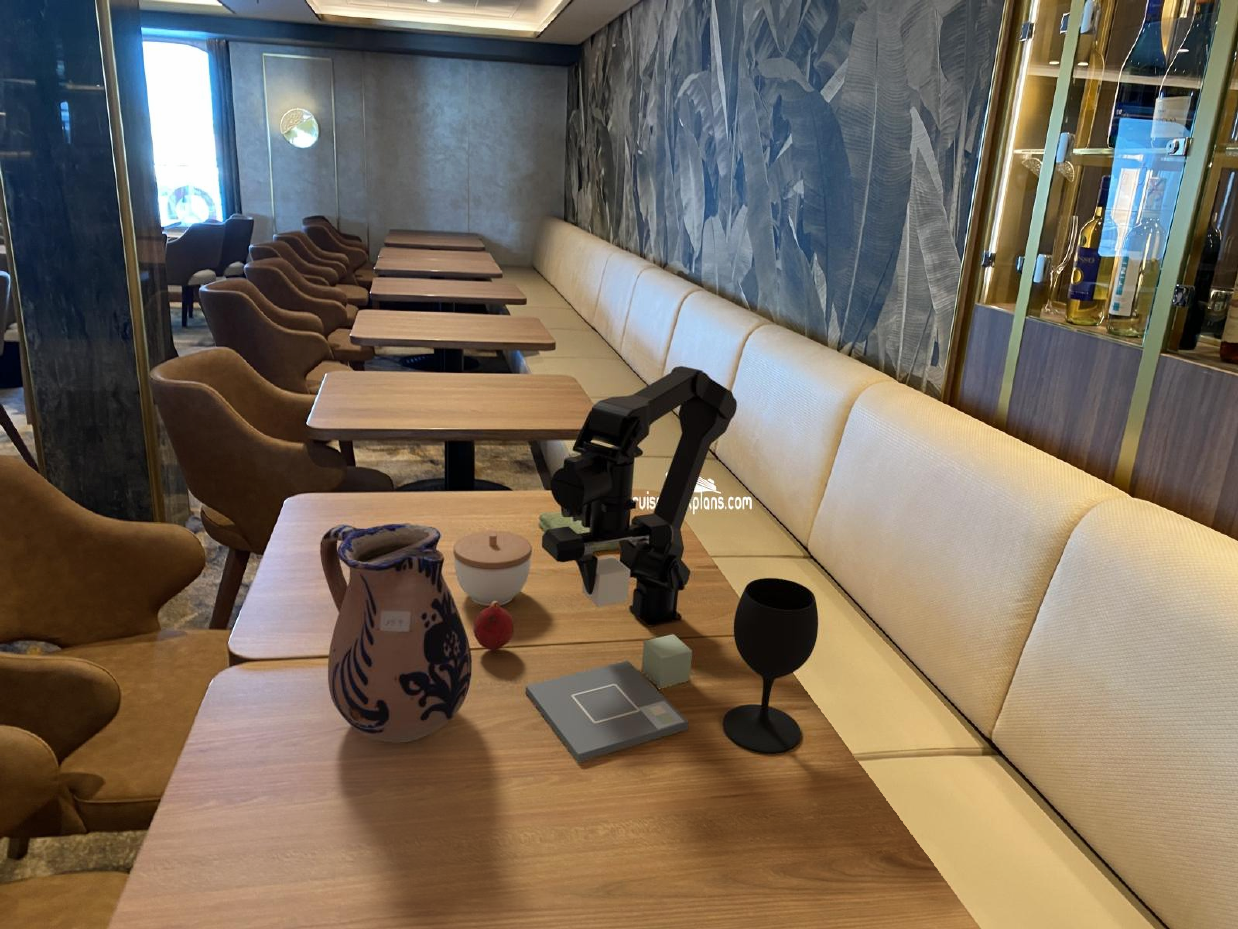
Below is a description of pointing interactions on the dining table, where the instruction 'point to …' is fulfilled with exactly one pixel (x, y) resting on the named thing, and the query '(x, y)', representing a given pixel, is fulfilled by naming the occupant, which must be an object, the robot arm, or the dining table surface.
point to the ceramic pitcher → (394, 632)
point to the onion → (493, 627)
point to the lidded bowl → (492, 565)
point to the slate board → (605, 710)
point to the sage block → (666, 661)
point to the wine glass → (771, 658)
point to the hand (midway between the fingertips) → (605, 590)
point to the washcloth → (559, 521)
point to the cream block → (609, 583)
